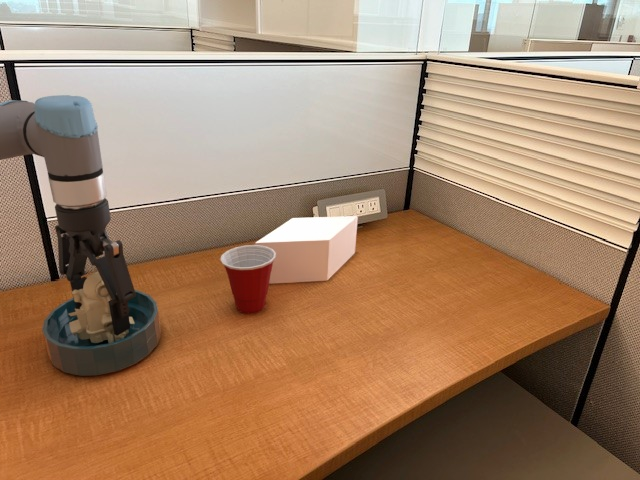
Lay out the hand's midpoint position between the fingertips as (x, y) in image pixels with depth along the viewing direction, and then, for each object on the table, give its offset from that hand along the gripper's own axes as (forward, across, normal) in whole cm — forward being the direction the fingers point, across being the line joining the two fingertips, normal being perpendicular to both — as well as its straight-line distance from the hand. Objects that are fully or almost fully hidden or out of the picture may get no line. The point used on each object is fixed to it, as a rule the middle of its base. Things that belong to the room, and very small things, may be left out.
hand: (103, 321), depth 84 cm
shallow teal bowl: (+5, 0, 0) cm, 5 cm away
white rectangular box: (+5, -14, -45) cm, 47 cm away
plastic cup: (+5, -13, -24) cm, 28 cm away
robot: (+3, 0, 0) cm, 3 cm away
